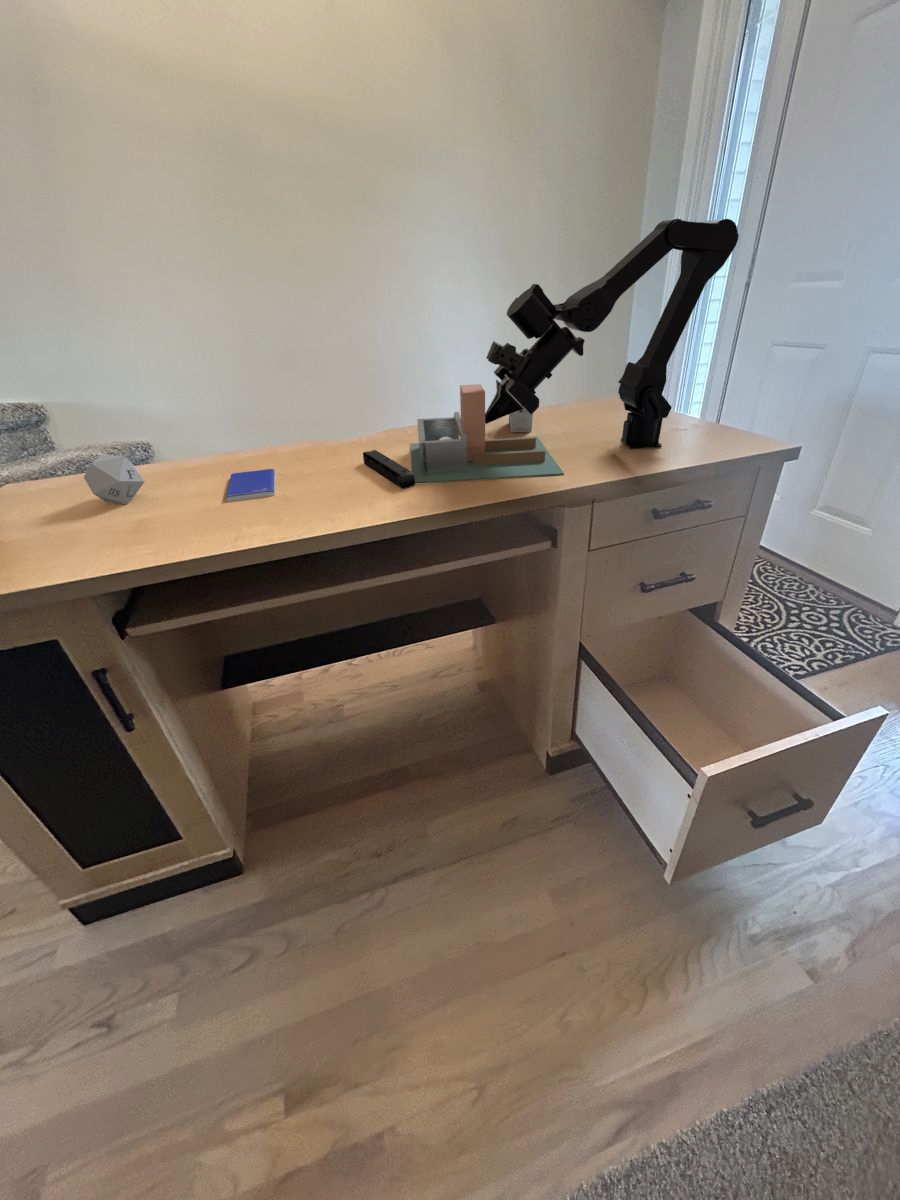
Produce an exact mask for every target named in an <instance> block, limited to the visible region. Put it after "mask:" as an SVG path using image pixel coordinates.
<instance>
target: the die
mask: <svg viewBox="0 0 900 1200" xmlns="http://www.w3.org/2000/svg"><path fill="white" fill-rule="evenodd" d="M83 479H84V481H85V483H87V486H88V487H89V489H90V490H91V493H92V495H95V497H98V498H99V499H101V500H102V501H104V502H105V503H106V502H107V503H112V504H113V503H114V504H119V505H120V504H121V505H128V504H129V503H130V501H131V500H132V499H133V498H134V496H136V494H137V493H138V492H139V490H140V489H141V487H142V486H143V485H144V484H145V480H144V478H143V477H142V475H141V473H140V472H139V470H138V469H137V467H136V466H135V464H133V463H132V462H131V461H130V460H129V459H128V458H126V457H125V456H123V455H113V454H103V453H102V454H101V455H99V456H98V457H97V458H96V459H95V460H94V461H92V462H91V463H90V465H89V467H88V468H87V470H86V471H85V474H84V476H83Z"/></svg>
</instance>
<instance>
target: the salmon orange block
mask: <svg viewBox="0 0 900 1200" xmlns="http://www.w3.org/2000/svg"><path fill="white" fill-rule="evenodd" d="M459 395H460V396H459V397H460V399H459V400H460V417H461V420H462V423H463V426H464V429H465V432H466V434H467V441H466V452H467V461H473V454H480V453H485V439H486V423H485V413H486V391H485V389H484V387H483V386H482V384H480V383H479V384H477V383H475V384H462V385H459Z"/></svg>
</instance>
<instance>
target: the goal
mask: <svg viewBox="0 0 900 1200" xmlns="http://www.w3.org/2000/svg"><path fill="white" fill-rule="evenodd" d="M416 421H417V422H416V423H417V434H418V443H419V452H420V466H421V475H437V474H454V473H467V452H466V441H467V434H466V432H465V429H464V426H463V423H462V420H461V413H460V412H459V411H455V412H453V416H450V417H449V416H448V417H433V418H417V420H416ZM442 437H450V438H452V439H453V440H439V439H440V438H442Z"/></svg>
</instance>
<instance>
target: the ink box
mask: <svg viewBox="0 0 900 1200" xmlns="http://www.w3.org/2000/svg"><path fill="white" fill-rule="evenodd" d="M521 406H522V405H521ZM522 407H523V406H522ZM533 414H534V413H533ZM533 414H532V415H531V414H530V413H529V412H528V411H527V410H526V409H525V408H524V407H523V410H519V411H516V412H513V413H511V414H508V424H509V428H510V432H511V433H531V432H532V427H533Z"/></svg>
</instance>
